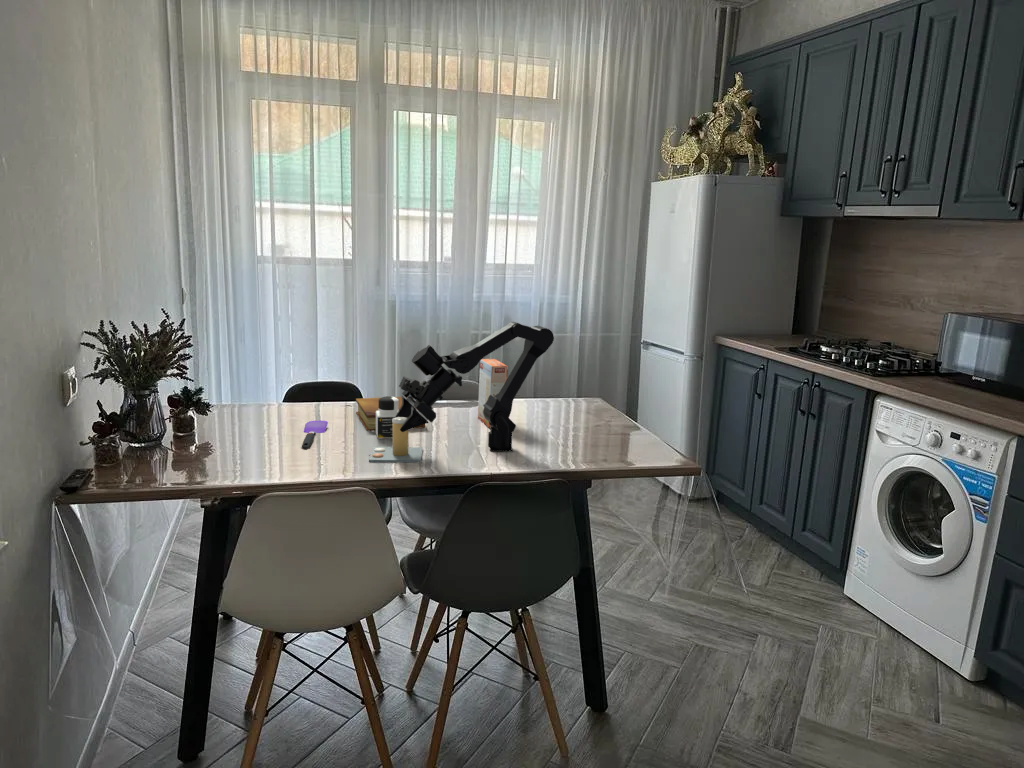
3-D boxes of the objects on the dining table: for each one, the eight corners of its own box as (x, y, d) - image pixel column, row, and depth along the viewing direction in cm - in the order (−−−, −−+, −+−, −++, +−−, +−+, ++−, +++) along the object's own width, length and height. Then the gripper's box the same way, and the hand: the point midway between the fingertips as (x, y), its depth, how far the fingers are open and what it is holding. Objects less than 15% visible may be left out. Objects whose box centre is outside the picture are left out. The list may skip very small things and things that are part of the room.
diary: (425, 429, 227) (425, 412, 225) (367, 433, 220) (367, 415, 219) (409, 411, 248) (409, 395, 246) (355, 414, 241) (355, 398, 240)
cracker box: (506, 428, 230) (508, 365, 226) (488, 428, 228) (490, 366, 224) (494, 417, 243) (496, 358, 239) (477, 417, 241) (479, 358, 237)
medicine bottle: (377, 439, 212) (377, 400, 209) (375, 432, 219) (375, 395, 216) (401, 438, 214) (401, 400, 211) (398, 431, 221) (398, 394, 218)
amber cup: (411, 452, 199) (411, 418, 196) (404, 456, 194) (404, 421, 192) (396, 450, 200) (396, 416, 198) (389, 454, 195) (389, 420, 193)
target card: (422, 449, 204) (422, 446, 203) (420, 462, 192) (420, 459, 192) (373, 448, 202) (373, 445, 202) (369, 461, 191) (369, 458, 190)
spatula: (316, 450, 200) (316, 442, 199) (292, 450, 199) (292, 442, 198) (328, 427, 223) (328, 420, 222) (306, 427, 222) (306, 420, 222)
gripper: (409, 361, 202) (371, 399, 200) (425, 373, 185) (383, 416, 183) (435, 386, 206) (398, 424, 205) (453, 401, 189) (412, 443, 188)
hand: (397, 426), depth 195 cm, fingers open, 9 cm apart
